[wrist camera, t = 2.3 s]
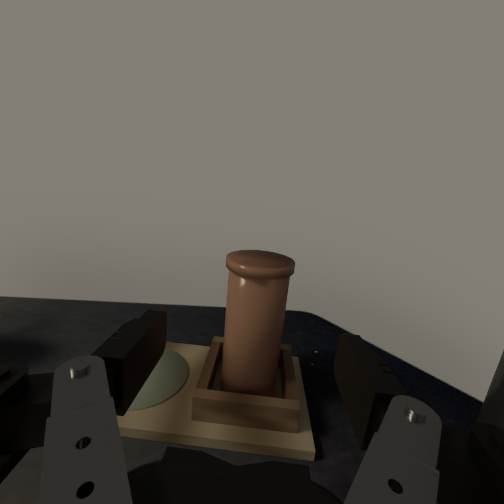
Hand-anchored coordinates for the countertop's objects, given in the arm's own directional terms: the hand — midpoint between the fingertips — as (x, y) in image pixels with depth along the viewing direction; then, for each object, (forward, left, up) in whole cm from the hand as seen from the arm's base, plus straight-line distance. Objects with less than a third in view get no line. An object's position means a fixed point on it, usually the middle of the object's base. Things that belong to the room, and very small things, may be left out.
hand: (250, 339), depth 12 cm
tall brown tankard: (0, -12, -13) cm, 18 cm away
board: (+5, -12, -14) cm, 20 cm away
